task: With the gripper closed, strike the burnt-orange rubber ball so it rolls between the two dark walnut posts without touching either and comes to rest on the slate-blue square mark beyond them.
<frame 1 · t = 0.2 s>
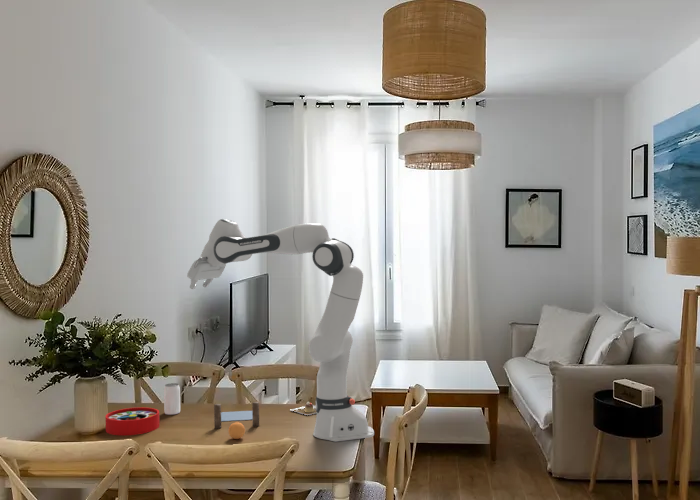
hand: (198, 287, 270), 54 cm above the table, fingers open, 8 cm apart
dessert: (309, 412, 288), on the table
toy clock: (132, 429, 266), on the table
ball: (236, 430, 249), on the table
left post: (217, 427, 264), on the table
can: (172, 413, 288), on the table
right post: (256, 425, 266), on the table
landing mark: (237, 416, 281), on the table
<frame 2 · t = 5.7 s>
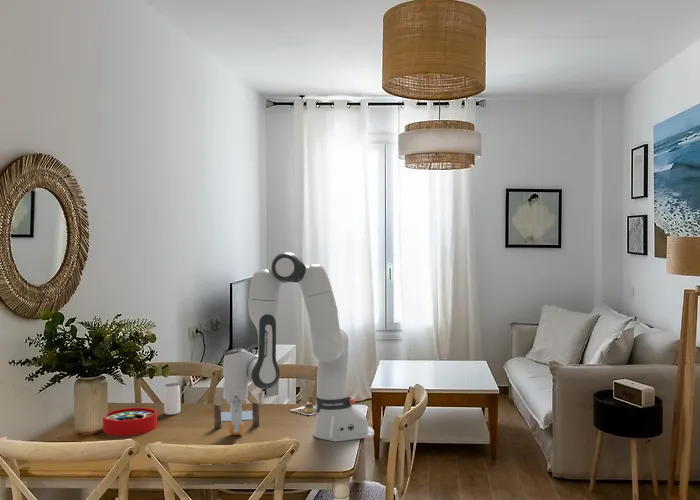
hand: (236, 431, 250), 3 cm above the table, fingers closed
ball: (235, 426, 254), on the table
everything else where it was.
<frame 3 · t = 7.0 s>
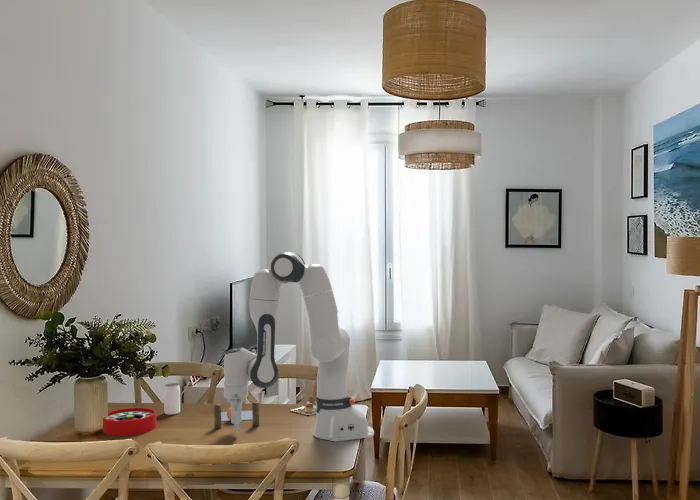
hand: (236, 429, 252), 3 cm above the table, fingers closed
ball: (234, 413, 274), on the table
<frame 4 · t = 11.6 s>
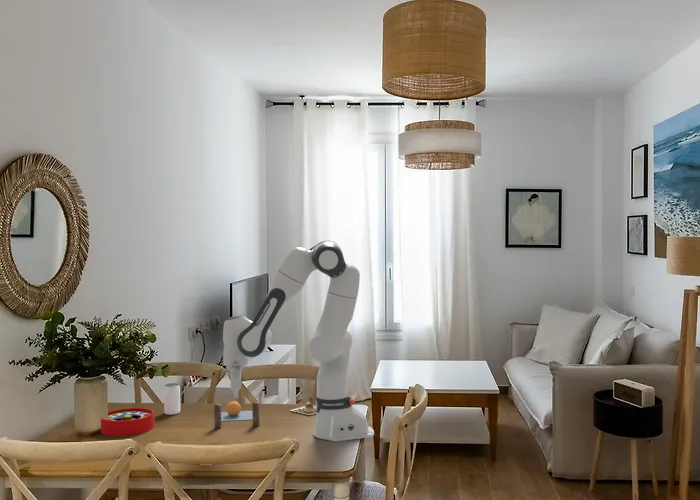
hand: (236, 397, 252), 15 cm above the table, fingers closed
ball: (233, 408, 281), on the table
at the end: ball 1.6 cm from the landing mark (horizontally); ball never touched left post; ball never touched right post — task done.
